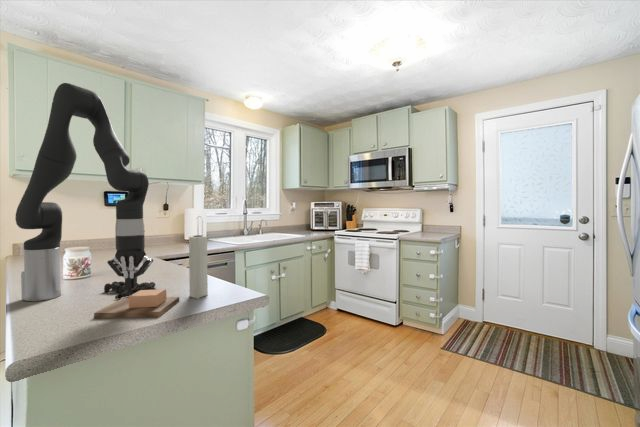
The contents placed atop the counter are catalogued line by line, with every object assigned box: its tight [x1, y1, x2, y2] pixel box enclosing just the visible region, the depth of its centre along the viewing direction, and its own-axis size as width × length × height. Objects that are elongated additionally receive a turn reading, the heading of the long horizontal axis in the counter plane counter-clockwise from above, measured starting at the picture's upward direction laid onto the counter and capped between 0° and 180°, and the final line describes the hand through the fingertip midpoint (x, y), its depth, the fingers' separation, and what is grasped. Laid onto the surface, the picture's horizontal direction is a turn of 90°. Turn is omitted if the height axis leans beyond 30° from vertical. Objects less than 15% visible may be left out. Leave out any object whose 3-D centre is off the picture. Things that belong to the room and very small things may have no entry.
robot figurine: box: [103, 281, 157, 300], centre depth 111 cm, size 18×4×20 cm
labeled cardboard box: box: [128, 288, 167, 308], centre depth 92 cm, size 4×6×8 cm
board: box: [93, 296, 180, 319], centre depth 92 cm, size 18×14×2 cm
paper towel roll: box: [188, 234, 209, 299], centre depth 106 cm, size 7×6×21 cm
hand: (131, 289), depth 92 cm, fingers closed
